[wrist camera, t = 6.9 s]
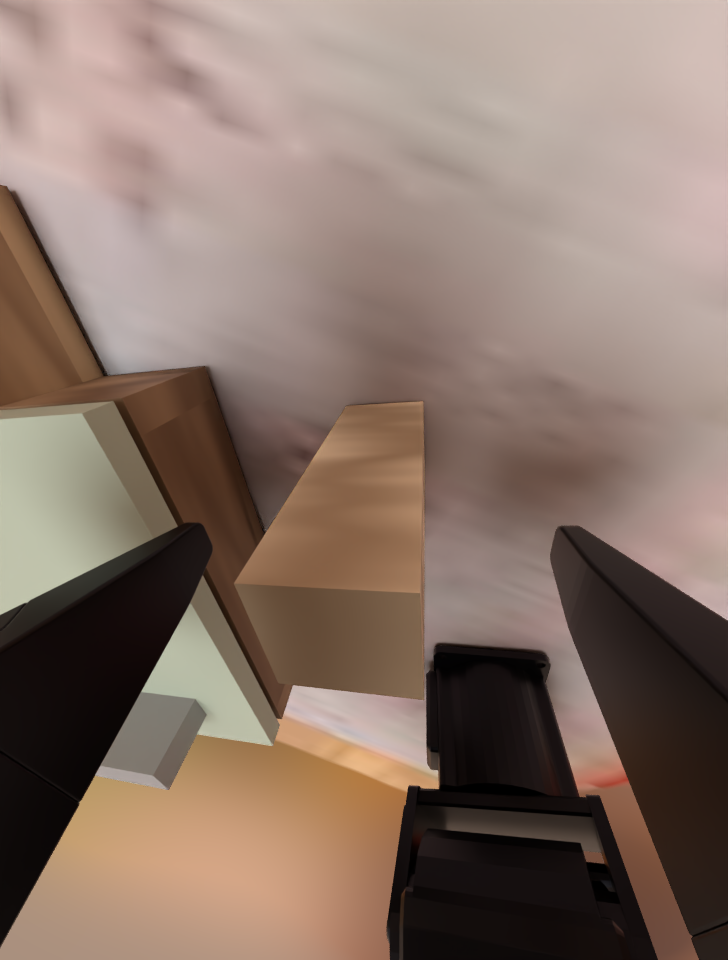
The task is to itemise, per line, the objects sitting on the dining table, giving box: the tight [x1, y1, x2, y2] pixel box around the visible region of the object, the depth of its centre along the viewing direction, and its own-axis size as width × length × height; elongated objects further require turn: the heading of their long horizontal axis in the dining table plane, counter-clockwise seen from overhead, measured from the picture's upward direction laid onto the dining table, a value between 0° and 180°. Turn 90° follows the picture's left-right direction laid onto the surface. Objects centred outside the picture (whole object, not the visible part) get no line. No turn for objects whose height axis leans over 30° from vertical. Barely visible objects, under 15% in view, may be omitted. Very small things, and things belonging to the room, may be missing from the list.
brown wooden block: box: [234, 401, 425, 700], centre depth 10 cm, size 3×3×9 cm
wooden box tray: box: [0, 185, 293, 719], centre depth 16 cm, size 16×25×4 cm, turn 7°
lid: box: [0, 401, 280, 790], centre depth 14 cm, size 16×19×4 cm
